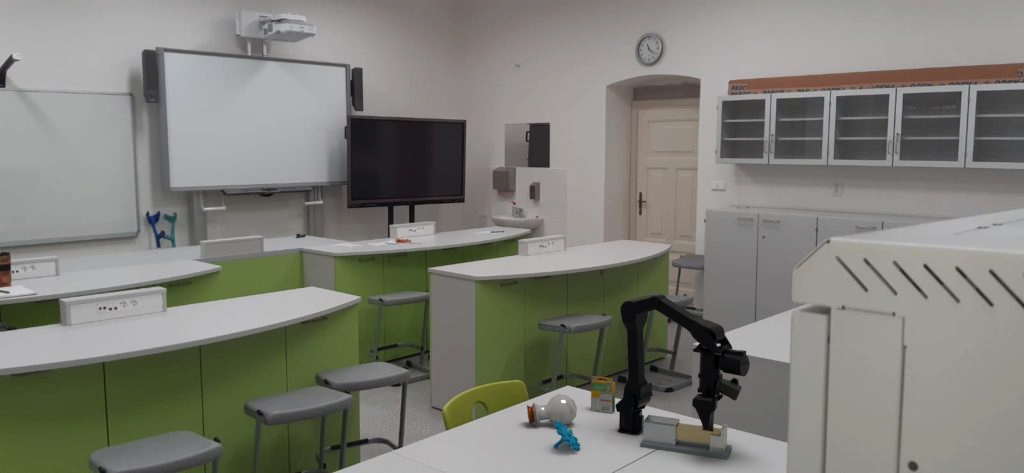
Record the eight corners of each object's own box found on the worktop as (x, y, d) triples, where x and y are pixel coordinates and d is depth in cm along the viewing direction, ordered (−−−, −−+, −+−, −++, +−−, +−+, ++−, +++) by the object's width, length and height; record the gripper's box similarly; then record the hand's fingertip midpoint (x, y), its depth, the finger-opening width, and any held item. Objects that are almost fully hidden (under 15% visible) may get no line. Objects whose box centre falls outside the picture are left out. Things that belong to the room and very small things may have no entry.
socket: (709, 451, 218) (710, 428, 217) (712, 444, 223) (713, 422, 223) (723, 453, 216) (724, 430, 216) (726, 446, 222) (727, 424, 221)
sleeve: (643, 441, 225) (644, 420, 225) (647, 435, 230) (648, 414, 230) (675, 446, 222) (675, 424, 221) (678, 440, 227) (679, 418, 226)
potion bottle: (579, 430, 242) (531, 437, 241) (573, 404, 249) (526, 410, 248) (580, 411, 236) (531, 418, 234) (573, 385, 243) (525, 392, 242)
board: (640, 446, 224) (640, 443, 224) (647, 436, 232) (647, 433, 232) (727, 459, 215) (727, 456, 215) (731, 448, 223) (731, 445, 223)
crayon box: (615, 411, 256) (615, 376, 255) (612, 413, 254) (613, 378, 253) (593, 408, 259) (594, 373, 258) (590, 410, 257) (591, 375, 256)
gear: (577, 451, 215) (553, 422, 218) (562, 465, 216) (538, 436, 219) (586, 443, 226) (563, 416, 228) (571, 456, 227) (548, 429, 229)
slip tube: (668, 438, 223) (669, 408, 222) (671, 434, 227) (672, 404, 226) (719, 445, 218) (720, 414, 217) (721, 441, 221) (722, 411, 220)
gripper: (735, 381, 207) (733, 439, 209) (744, 365, 225) (742, 418, 226) (692, 376, 212) (691, 433, 213) (704, 361, 229) (702, 413, 230)
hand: (708, 424), depth 220 cm, fingers open, 7 cm apart
